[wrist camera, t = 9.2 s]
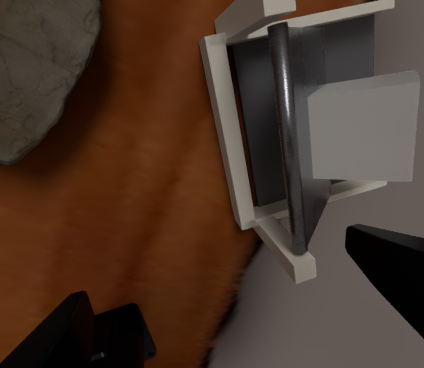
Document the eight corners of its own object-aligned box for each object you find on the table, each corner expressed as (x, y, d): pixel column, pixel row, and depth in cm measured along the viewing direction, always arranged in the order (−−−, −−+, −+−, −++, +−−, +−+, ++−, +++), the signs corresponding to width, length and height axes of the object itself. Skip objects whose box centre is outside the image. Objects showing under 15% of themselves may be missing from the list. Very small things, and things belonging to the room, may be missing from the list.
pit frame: (236, 228, 23) (276, 291, 16) (195, 24, 17) (228, -19, 10) (368, 187, 25) (457, 227, 18) (371, -11, 19) (504, -69, 12)
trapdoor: (290, 253, 17) (305, 255, 16) (263, 27, 12) (283, 21, 11) (320, 194, 22) (331, 195, 22) (310, 28, 18) (324, 24, 17)
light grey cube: (313, 178, 17) (412, 182, 14) (307, 97, 15) (420, 82, 12) (329, 152, 21) (410, 150, 18) (326, 84, 19) (416, 70, 16)
